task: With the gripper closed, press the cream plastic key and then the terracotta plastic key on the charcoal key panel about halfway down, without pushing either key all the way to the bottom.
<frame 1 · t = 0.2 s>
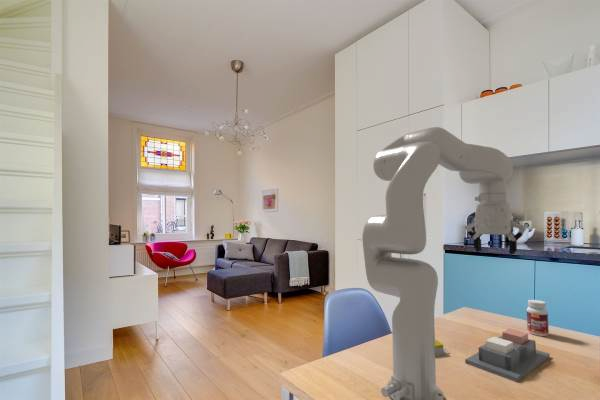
hand: (494, 252, 102), 30 cm above the table, tool pointing down, fingers open, 9 cm apart
key panel: (508, 359, 92), on the table
terracotta key: (515, 338, 96), point 5 cm above the table, slide at 0.0 cm
pill bottle: (538, 334, 113), on the table
emergency button: (420, 351, 100), on the table
cream key: (499, 347, 89), point 5 cm above the table, slide at 0.0 cm
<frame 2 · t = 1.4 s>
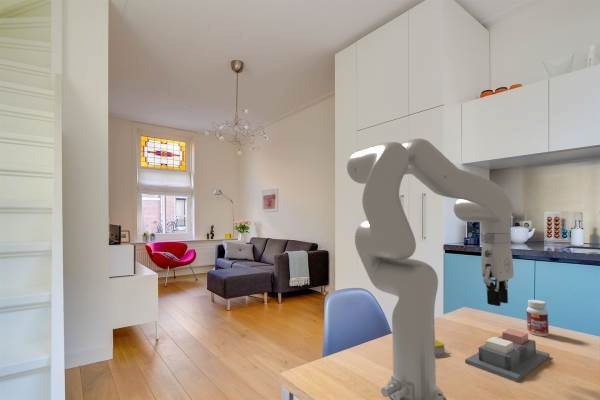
hand: (497, 302, 90), 17 cm above the table, tool pointing down, fingers open, 4 cm apart
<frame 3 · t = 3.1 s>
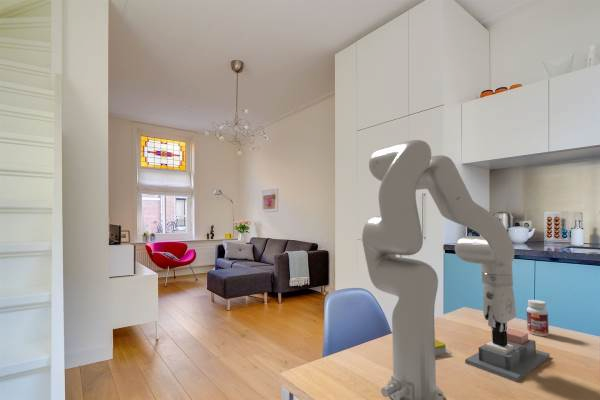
hand: (499, 344, 89), 6 cm above the table, tool pointing down, fingers closed
cream key: (499, 350, 89), point 4 cm above the table, slide at 1.0 cm, touching gripper
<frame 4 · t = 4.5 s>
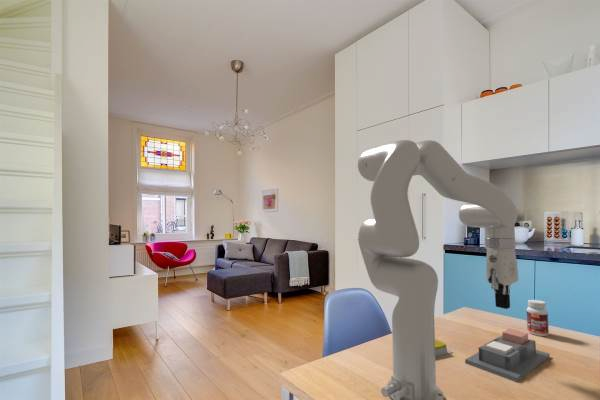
hand: (502, 307, 91), 16 cm above the table, tool pointing down, fingers closed
cream key: (499, 351, 89), point 4 cm above the table, slide at 1.3 cm
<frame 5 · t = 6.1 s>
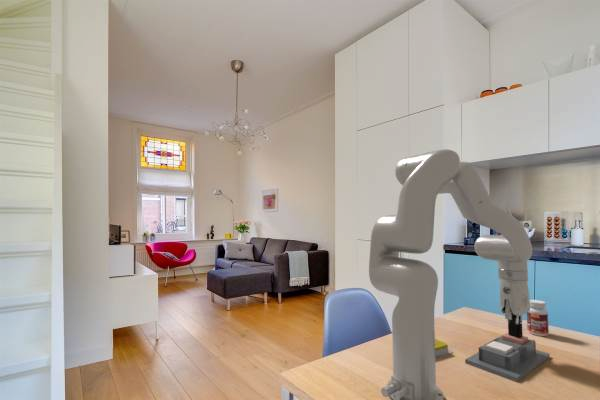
hand: (515, 335, 96), 6 cm above the table, tool pointing down, fingers closed
terracotta key: (515, 341, 96), point 4 cm above the table, slide at 1.0 cm, touching gripper
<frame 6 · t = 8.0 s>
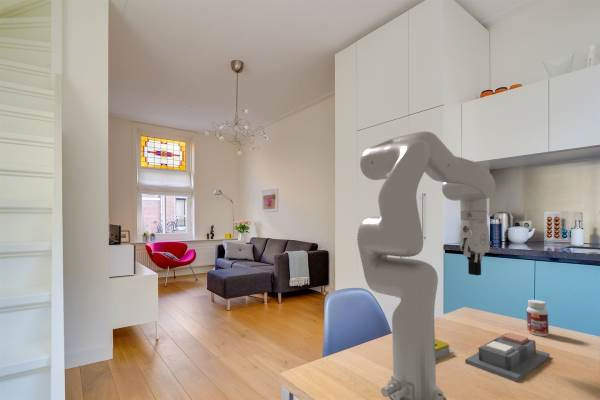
hand: (474, 274, 100), 23 cm above the table, tool pointing down, fingers closed
terracotta key: (515, 342, 96), point 4 cm above the table, slide at 1.2 cm
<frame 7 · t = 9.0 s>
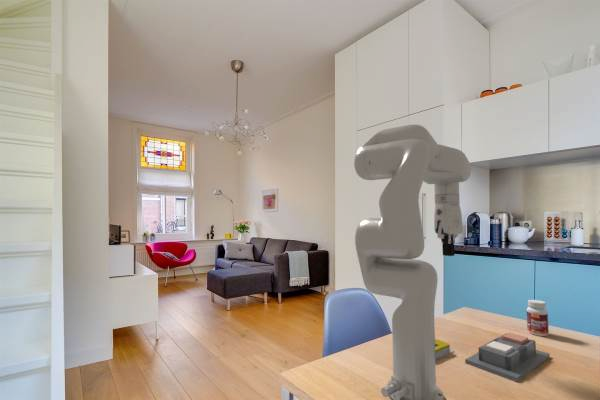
hand: (448, 255, 104), 29 cm above the table, tool pointing down, fingers closed
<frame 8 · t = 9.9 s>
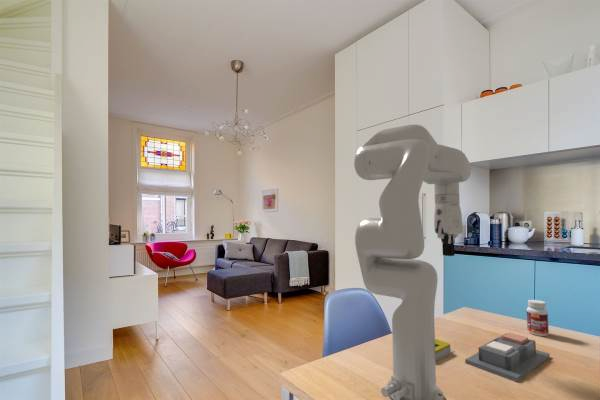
hand: (448, 255, 104), 29 cm above the table, tool pointing down, fingers closed
at the end: cream key slide at 1.3 cm; terracotta key slide at 1.2 cm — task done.
